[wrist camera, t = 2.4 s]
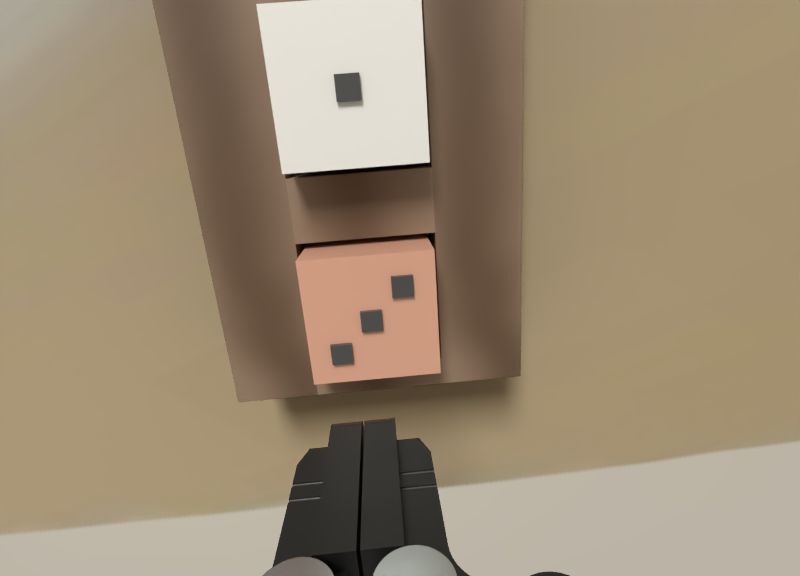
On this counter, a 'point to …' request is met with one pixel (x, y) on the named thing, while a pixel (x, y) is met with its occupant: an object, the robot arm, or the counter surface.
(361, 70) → the one dot button
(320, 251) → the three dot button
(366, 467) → the robot arm
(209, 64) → the console
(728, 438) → the counter surface
